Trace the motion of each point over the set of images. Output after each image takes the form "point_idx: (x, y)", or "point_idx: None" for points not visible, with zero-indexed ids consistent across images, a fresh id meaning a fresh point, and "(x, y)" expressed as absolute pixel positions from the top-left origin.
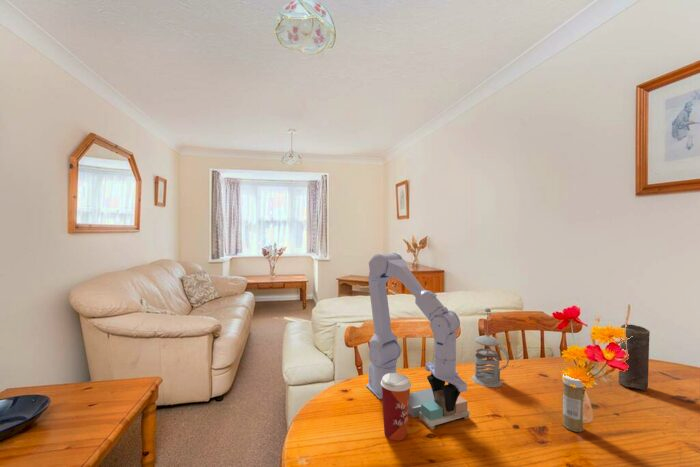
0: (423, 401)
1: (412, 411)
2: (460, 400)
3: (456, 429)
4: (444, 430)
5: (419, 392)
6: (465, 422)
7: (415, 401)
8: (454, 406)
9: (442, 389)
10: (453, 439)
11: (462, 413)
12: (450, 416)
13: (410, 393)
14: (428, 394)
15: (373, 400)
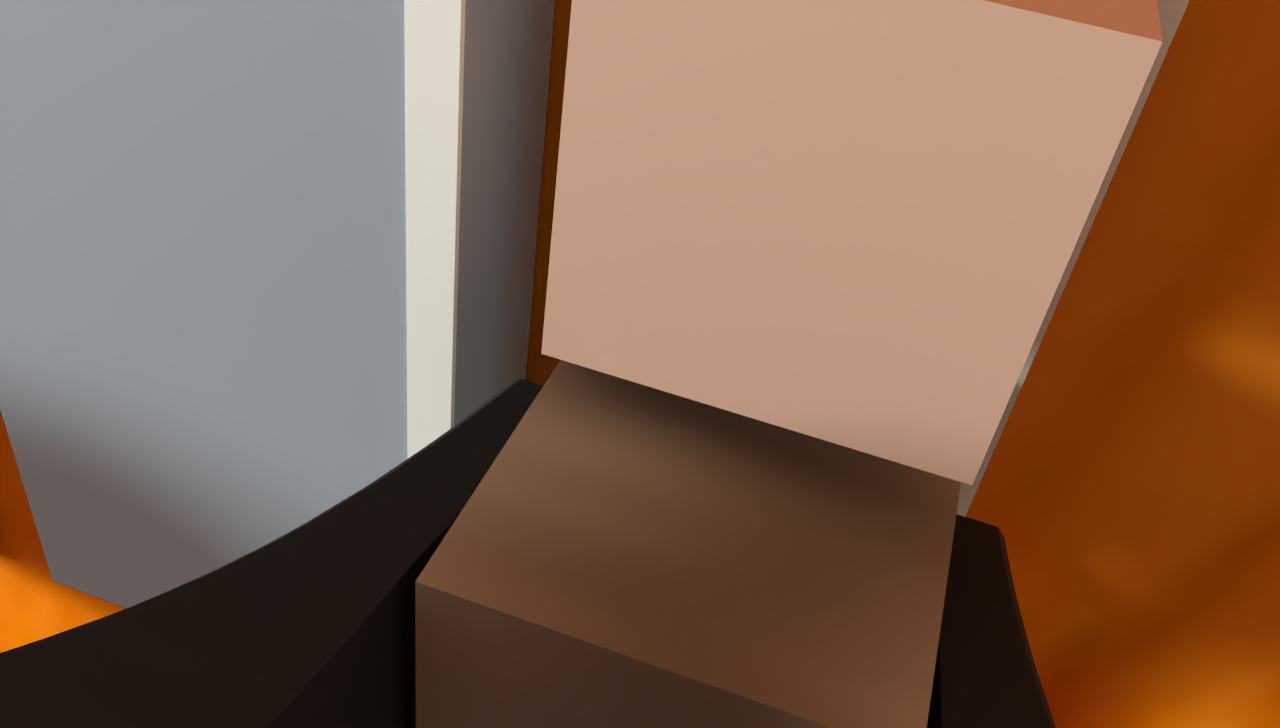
0: (323, 480)
1: None
2: (938, 209)
3: (1175, 471)
4: (1021, 608)
5: (5, 268)
6: (1212, 127)
7: None
8: (1011, 608)
9: (424, 652)
10: (1276, 710)
11: (1105, 179)
12: (970, 501)
13: (14, 412)
14: (112, 189)
15: (3, 602)
